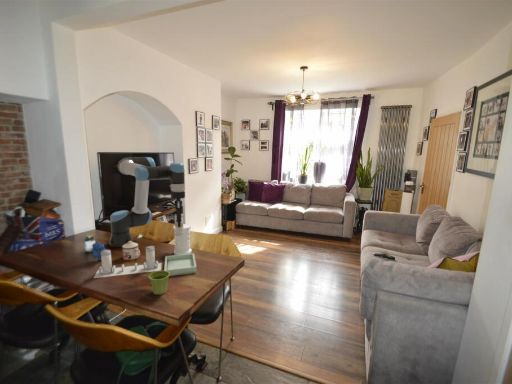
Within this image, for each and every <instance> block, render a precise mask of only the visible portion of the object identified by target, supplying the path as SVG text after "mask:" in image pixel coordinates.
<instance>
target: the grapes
mask: <svg viewBox="0 0 512 384" xmlns="http://www.w3.org/2000/svg"><path fill="white" fill-rule="evenodd" d="M91 245H92V246H91V247H92V248H91V252H92V255H93V257H94V258H95V259H97V261H101V251H104V250H108V249H107V248H105V245H104V244H103V243H100V241H99V242H98V241H96V242H95V243H93V244H91Z"/></svg>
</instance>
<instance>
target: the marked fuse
mask: <svg viewBox="0 0 512 384" xmlns="http://www.w3.org/2000/svg"><path fill="white" fill-rule="evenodd" d="M176 220H177V214H176V213H174V226H175V230H174V231H175V234H174V236H175V235H176V236H182V235H184V233H183V224H184V214H183V213H181V220H182V232H181V233H177V222H175V221H176Z"/></svg>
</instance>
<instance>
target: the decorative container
mask: <svg viewBox="0 0 512 384" xmlns="http://www.w3.org/2000/svg"><path fill="white" fill-rule="evenodd" d="M173 230H174V232H173V234H174V250H173V254H174V255H181V254H191V253H192V252H193V249H192V248H191V234H190V233H191V224H187V223H183V233H184V235H182V236H176V235H175V225H173Z"/></svg>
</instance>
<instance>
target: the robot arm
mask: <svg viewBox="0 0 512 384" xmlns="http://www.w3.org/2000/svg"><path fill="white" fill-rule="evenodd" d="M117 170H118V172H119V173H121V174H122V175H125V176H129V175H130V176H132V177H133V176H134V177H135V189H134V190H135V191H134V206H133V207H132V208H131V211H129V210H125V209H124V210H119V211H118V210H117V211H115V212H113V213H112V214H111V215H110V220H109V222H110V229H111V230H110V231H111V235H110V237H109V238H110V239H109V243H108V244H109V246H110V247H113V248H122V246H123V245H124V244H127V243H128V242H129V241H132V242H133V243H134V239H133V237H132V234H131V232H130V229H131V228H137V227H143V226H147V225H149V224H150V223H151V221H152V212H151V210H150V209H149V207H148V197H149V187H150V181H157V180H170V185H169V187H170V191H171V192H170V197H171V199H174V200H175V201H174V205H175V207H174V208H175V211H176V213H175V214H177V220H176V221H175V220H174V223H175V222H177V233H181V232H182V220H181V214H182V209H183V206H182V205H183V201H182V200H181V199H185V198H186V191H185V190H186V184H185V182H186V181H185V177H186V175H185V165H184V163H182V162H179V163H178V162H173V163H170V164H169V165H162V166H161V165H160V166H159V165H158V166H156V162H155V160H154V158H153V157H150V156H149V157H148V156H147V157H146V156H140V157H139V156H129V157H123V158H122V159H120V160H119V161H118V164H117Z"/></svg>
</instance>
